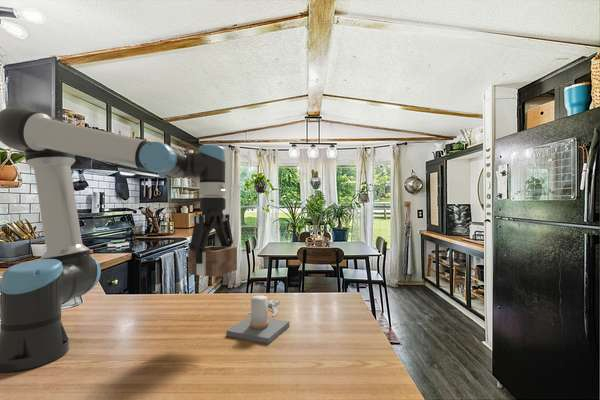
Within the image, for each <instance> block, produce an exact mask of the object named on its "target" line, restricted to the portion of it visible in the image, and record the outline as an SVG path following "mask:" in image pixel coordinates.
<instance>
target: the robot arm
mask: <svg viewBox="0 0 600 400" xmlns="http://www.w3.org/2000/svg"><path fill="white" fill-rule="evenodd" d="M0 143H2V144H3V145H5V146H6V147H8V148H10V149H13V150H16V151H20V152H24V153H23V154H24V159H25V164H27V165H28V166H29V167H31V168H32V169H33V171H34V179H35V184H36V185H35V186H36V190H37V197H38V204H39V211H40V215H41V216H40V217H41V223H42V230H43V235H44V242H45V248H46V251H45V252H44V253H43V254H42V256H41V257H40V259H33V260H31V261H22V262H20V263H16V264H14V265H12V266H9V267H7V268H6V269H5V270H4V271H3V273H2V276H1V283H0V373H9V372H10V373H13V372H19V371H26V370H29V369H33V368H36V367H40V366H43V365H47V364H49V363H52V362H54V361H56V360H58V359H60V358H62V357H63V356H65V354H67V353H68V351H69V349H70V340H69V338H68V337H69V336H68V334H67V332H66V329H65V327H64V325H63V322H62V304H64V303H66V302H69V301H71V300H73V299H76V298H79V297H81V296H83V295H86V294H87V293H88V292H90V291H92V290H93V289H94V288H95V286H96V285H97V284H98V283H99V280H100V278H101V272H102V271H101V270H102V269H101V265H100V263H99V262H98V260H97V259H95V258H94V257H93V256H91V250H90V248H89V247H87V246H86V245H84V244H83V240H82V234H81V233H82V232H81V226H80V220H79V214H78V208H77V207H78V206H77V201H76V195H75V188H74V182H73V176H72V174H73V173H72V169H71V167H72V165H74V163H76V156H80V157H85V158H89V159H93V160H97V161H98V160H99V161H102V162H107V163H111V164H115V165H116V164H117V165H121V166H126V167H130V168H135V169H139V170H144V171H147V172H152V173H156V174H158V176H159V177H160V178H163V179H165V178H166V179H185V178H189V179H190V178H193V179H194V178H199V188H198V189H199V193H198V194H199V196H200V198H199V210H200V211H201V212H202V214H201V215H194V217H193V221H194V222H193V229H192V233H191V239H190V244H189V250H190V251H192V252H195V253H196V264H197V275H196V276H202V275H206V252H203V251H204V248H205V247H207V246H206V245H207V243H208V240H209V236H210V234H211V232H212V231H213V229H214V230H215V232H216V236H217V238H218V240H219V243H220V246H222V247H233V246H232V245H233V244H234V240H233V234H232V228H231V224H230V214H229V213H227V214H226V213H225V214H224V213H223V212H224V210H226V198H225V196H226V163H227V162H226V156H225V155H226V154H225V148H224V147H222V146H221V145H218V144H203V145H200V146H199V149H198V151H196V152H181V151H179V150H177V149H176V148H173V147H171V146H170V145H168V144H167V143H164V142H160V141H149V140H145V139H141V138H137V137H132V136H127V135H122V134H119V133H115V132H114V133H113V132H110V131H104V130H100V129H95V128H93V127H91V128H90V127H86V126H82V125H79V124H78V125H77V124H73V123H69V122H65V121H64V120H62V119H60V118H56V117H51V116H49V115H48V114H46V113H43V112H39V111H36V110H34V109H32V108H30V107H29V108H28V107H23V106H9V107H6V108H4V109H2V110H0Z"/></svg>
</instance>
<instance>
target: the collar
mask: <svg viewBox="0 0 600 400" xmlns="http://www.w3.org/2000/svg"><path fill="white" fill-rule="evenodd" d="M237 248H238V247H237V246H231V247H223V246H221V245H219V246H218V245H217V246H216V245H215V246H214V245H209V246H205V248H204V251H203V252H206V275H201V276H202V277H203V276H205V277H212V278H213V277H215V278H217V277H220V276H223V275H225V274H226V275H227V274H229V273H231V272H235V271H237V270H238V269H237V268H238V261H237V255H238V253H237ZM187 259H188V260H187V266H188V268H187V271H188V273H187V274H188V275H192V276H193V275H194V276H198V275H197V264H196V253H195V252H192V251H190V249H188V250H187Z"/></svg>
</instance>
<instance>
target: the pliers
mask: <svg viewBox="0 0 600 400" xmlns="http://www.w3.org/2000/svg"><path fill="white" fill-rule="evenodd" d="M280 302H281V301H280V300H279V299H278V300H276V301H274V299H270V300H269V301H268V309H269V312H271V313H273V314H272V315H271V317H272V318H275V316H277V315H278V313H279V310H278V308H276V307H277V306H278V305H279V304H280ZM247 314H248V315H251V310H250V311H248V313H247Z"/></svg>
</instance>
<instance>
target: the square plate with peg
mask: <svg viewBox="0 0 600 400" xmlns="http://www.w3.org/2000/svg"><path fill="white" fill-rule="evenodd" d="M268 299H269V298H268V296H266V295H253V296H252V297H251V298H250V311H251V314H250V315H249V316H248V317H246V318H245V319H243V320H241V321H240V322H238V323H236V324H235V325H233V326H232V327H230V328H229V329H226V332H225V333H226V336H227V337H232V338H237V339H241V340H245V341H251V342H252V341H253V342H256V343H257V342H258V343H261V344H266V345H269V344H270V343H272V342H273V341H274V340H275V339H277V337H278V336H280V335H281V334H282V333H283V332H285V330H287V329H288V328H289V327H290V321H289V320H284V319H283V320H282V319H276V318H270V317H268V309H269V307H268V303H269V301H268Z"/></svg>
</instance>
